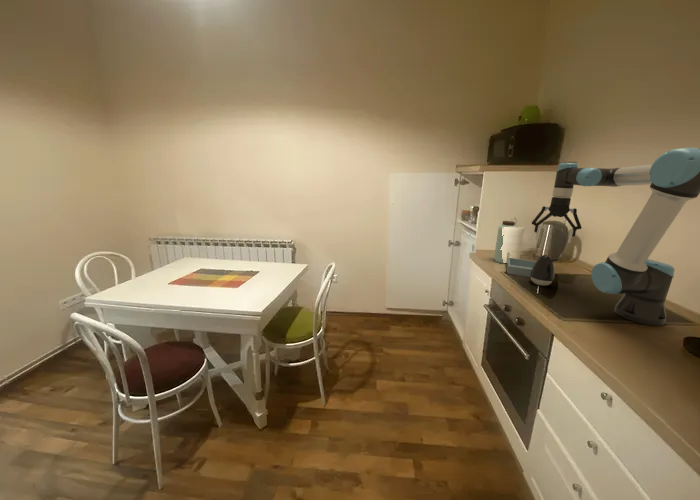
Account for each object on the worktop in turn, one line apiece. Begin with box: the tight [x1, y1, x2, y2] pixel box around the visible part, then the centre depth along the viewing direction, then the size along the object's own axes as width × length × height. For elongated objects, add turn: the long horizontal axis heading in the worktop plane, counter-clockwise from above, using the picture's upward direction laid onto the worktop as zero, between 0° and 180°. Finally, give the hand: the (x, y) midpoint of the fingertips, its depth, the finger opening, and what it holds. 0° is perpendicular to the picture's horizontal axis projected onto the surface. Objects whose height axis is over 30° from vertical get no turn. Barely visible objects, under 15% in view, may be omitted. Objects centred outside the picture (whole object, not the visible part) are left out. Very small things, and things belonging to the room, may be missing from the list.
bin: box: [506, 257, 537, 278], centre depth 174 cm, size 19×19×4 cm
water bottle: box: [493, 220, 516, 264], centre depth 190 cm, size 10×10×25 cm
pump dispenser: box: [530, 254, 560, 287], centre depth 155 cm, size 10×10×15 cm
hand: (552, 241), depth 152 cm, fingers open, 13 cm apart
